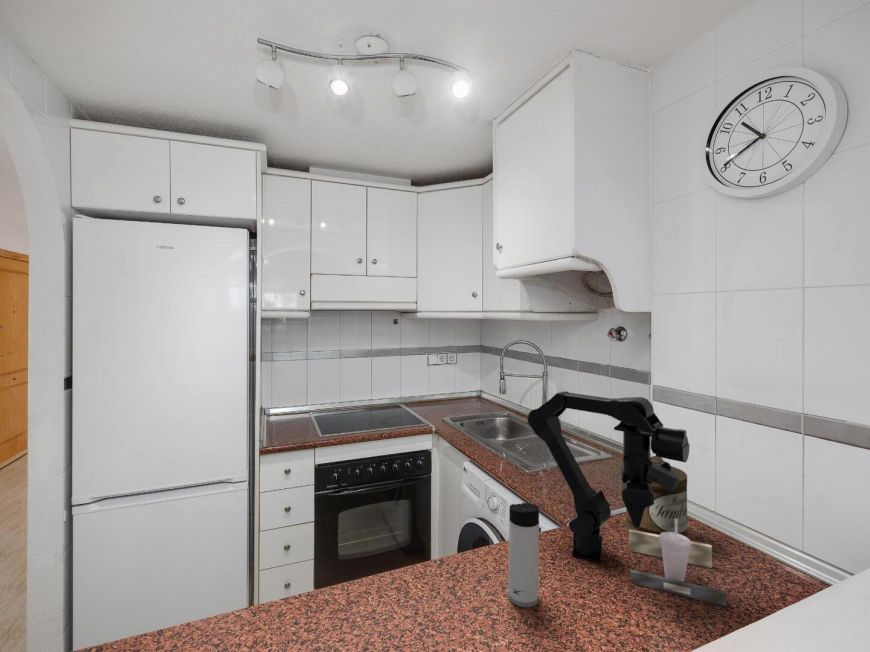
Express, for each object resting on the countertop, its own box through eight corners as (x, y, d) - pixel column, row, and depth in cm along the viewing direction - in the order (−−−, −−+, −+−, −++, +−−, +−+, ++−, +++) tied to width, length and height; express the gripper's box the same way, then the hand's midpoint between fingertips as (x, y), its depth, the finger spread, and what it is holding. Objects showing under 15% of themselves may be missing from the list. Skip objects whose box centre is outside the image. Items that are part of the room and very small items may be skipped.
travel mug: (517, 611, 83) (518, 513, 82) (503, 591, 89) (504, 499, 89) (544, 606, 84) (545, 510, 84) (529, 586, 91) (530, 496, 90)
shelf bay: (630, 583, 92) (631, 561, 92) (628, 548, 106) (629, 529, 106) (726, 607, 85) (727, 583, 84) (710, 565, 99) (710, 545, 99)
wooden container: (664, 555, 103) (665, 469, 103) (614, 528, 117) (615, 452, 116) (698, 541, 110) (699, 460, 110) (648, 517, 123) (648, 445, 123)
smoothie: (695, 581, 93) (695, 520, 93) (685, 593, 89) (686, 529, 88) (664, 568, 98) (665, 510, 98) (654, 579, 93) (654, 518, 93)
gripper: (682, 470, 84) (681, 545, 84) (671, 445, 101) (670, 508, 101) (622, 462, 88) (621, 533, 88) (621, 439, 105) (621, 500, 106)
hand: (635, 518), depth 96 cm, fingers open, 9 cm apart
